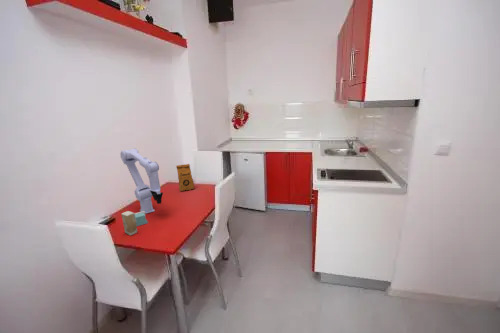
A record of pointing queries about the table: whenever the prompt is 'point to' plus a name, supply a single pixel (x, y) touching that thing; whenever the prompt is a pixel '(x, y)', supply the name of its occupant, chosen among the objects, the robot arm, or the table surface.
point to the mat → (142, 224)
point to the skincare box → (129, 222)
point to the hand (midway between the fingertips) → (157, 201)
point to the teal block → (140, 218)
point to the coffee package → (185, 177)
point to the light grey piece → (140, 212)
